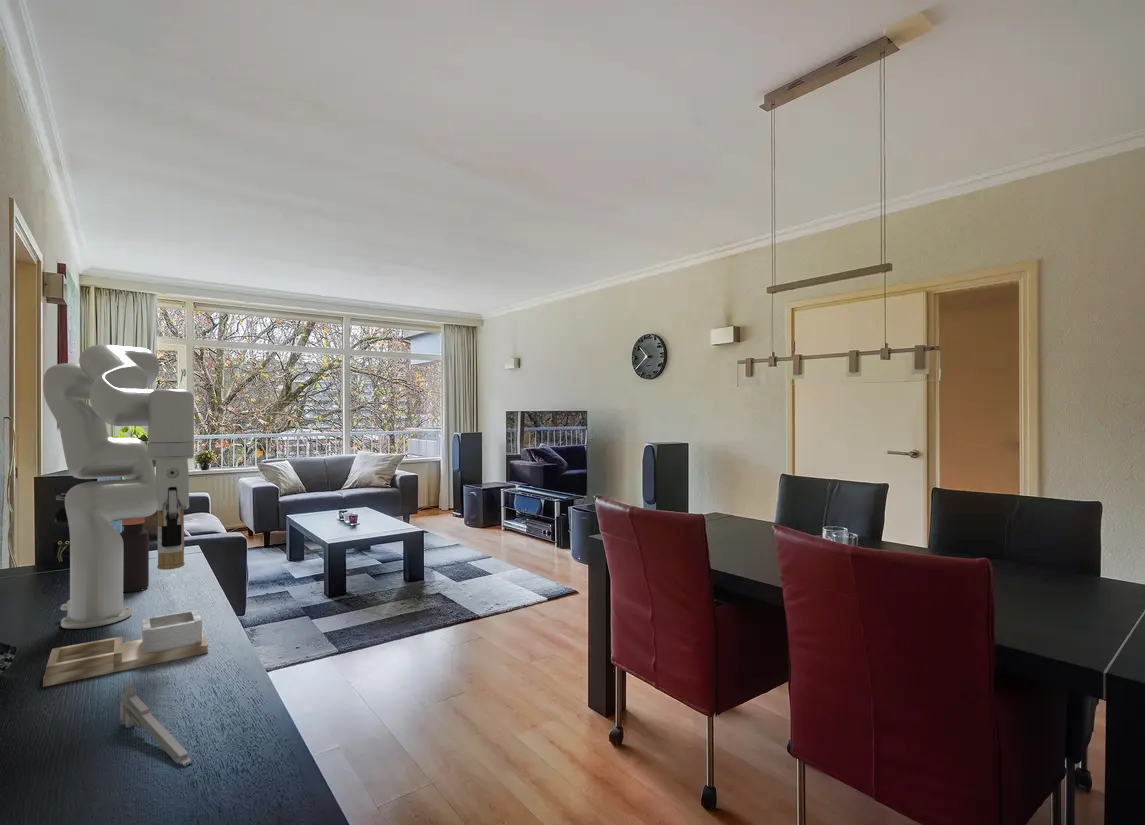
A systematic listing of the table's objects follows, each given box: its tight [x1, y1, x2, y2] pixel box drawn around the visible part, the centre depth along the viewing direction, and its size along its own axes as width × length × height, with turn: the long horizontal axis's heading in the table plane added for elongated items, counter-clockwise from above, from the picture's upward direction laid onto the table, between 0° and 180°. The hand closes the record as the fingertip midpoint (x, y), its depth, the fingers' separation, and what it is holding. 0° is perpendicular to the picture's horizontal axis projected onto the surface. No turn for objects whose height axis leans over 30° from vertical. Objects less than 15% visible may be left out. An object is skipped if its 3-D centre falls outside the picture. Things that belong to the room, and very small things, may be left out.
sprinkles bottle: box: [156, 501, 186, 571], centre depth 117 cm, size 5×5×14 cm
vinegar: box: [119, 517, 150, 593], centre depth 160 cm, size 7×7×20 cm
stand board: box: [42, 630, 209, 688], centre depth 113 cm, size 24×12×3 cm, turn 127°
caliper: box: [119, 683, 193, 765], centre depth 83 cm, size 20×1×6 cm, turn 57°
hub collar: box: [141, 609, 203, 655], centre depth 117 cm, size 9×9×4 cm
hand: (170, 542), depth 117 cm, fingers closed on sprinkles bottle, 4 cm apart
